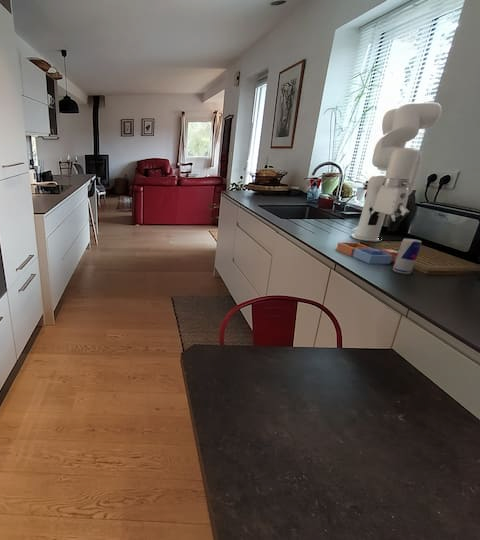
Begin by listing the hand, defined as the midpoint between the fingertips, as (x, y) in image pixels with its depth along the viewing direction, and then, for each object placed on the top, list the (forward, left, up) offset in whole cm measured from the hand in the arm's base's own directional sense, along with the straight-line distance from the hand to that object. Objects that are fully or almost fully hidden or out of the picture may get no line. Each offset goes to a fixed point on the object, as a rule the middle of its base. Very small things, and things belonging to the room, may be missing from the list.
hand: (381, 228), depth 128 cm
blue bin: (0, -1, -13) cm, 13 cm away
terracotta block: (0, +7, -13) cm, 15 cm away
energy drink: (+14, 0, -13) cm, 19 cm away
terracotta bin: (-10, -1, -13) cm, 16 cm away
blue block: (0, -1, -13) cm, 13 cm away
